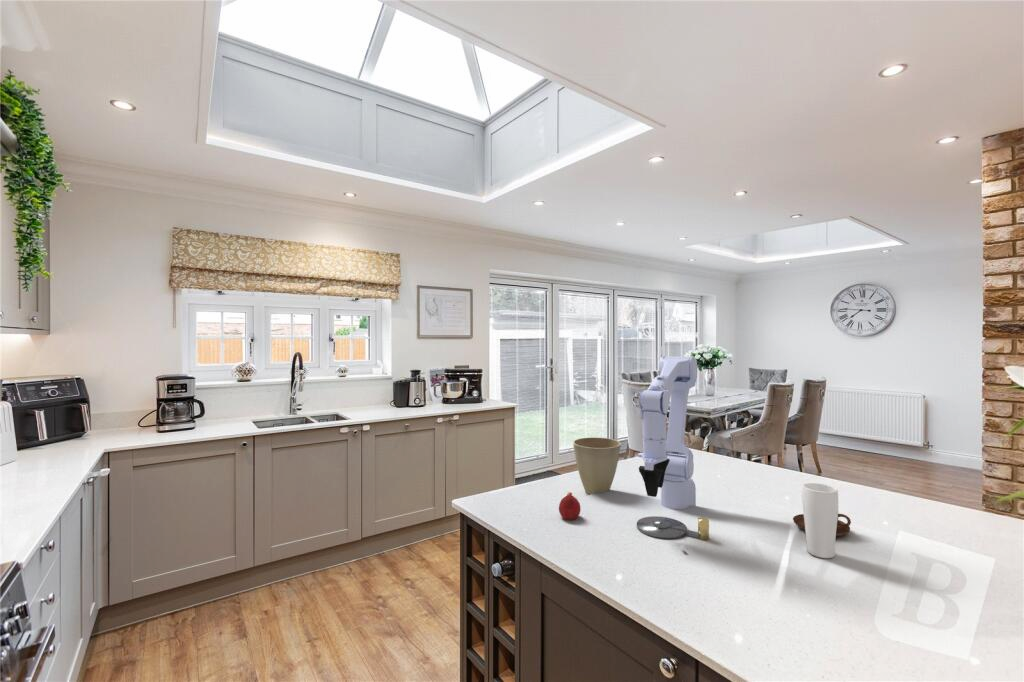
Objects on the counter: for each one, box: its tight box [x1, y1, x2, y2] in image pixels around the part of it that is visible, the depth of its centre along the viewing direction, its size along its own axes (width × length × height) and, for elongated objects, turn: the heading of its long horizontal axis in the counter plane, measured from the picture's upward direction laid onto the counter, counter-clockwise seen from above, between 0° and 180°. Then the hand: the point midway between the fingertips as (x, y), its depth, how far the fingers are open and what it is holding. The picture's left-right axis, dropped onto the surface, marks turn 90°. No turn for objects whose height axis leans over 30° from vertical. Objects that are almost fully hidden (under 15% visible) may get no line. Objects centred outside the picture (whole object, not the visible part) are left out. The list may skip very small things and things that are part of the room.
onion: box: [558, 491, 582, 521], centre depth 125 cm, size 6×6×8 cm
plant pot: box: [572, 436, 621, 495], centre depth 149 cm, size 15×15×16 cm
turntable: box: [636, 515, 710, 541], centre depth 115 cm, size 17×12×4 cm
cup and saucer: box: [792, 513, 852, 537], centre depth 118 cm, size 12×12×6 cm
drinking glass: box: [801, 482, 839, 559], centre depth 105 cm, size 7×7×15 cm
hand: (655, 491), depth 118 cm, fingers open, 7 cm apart
